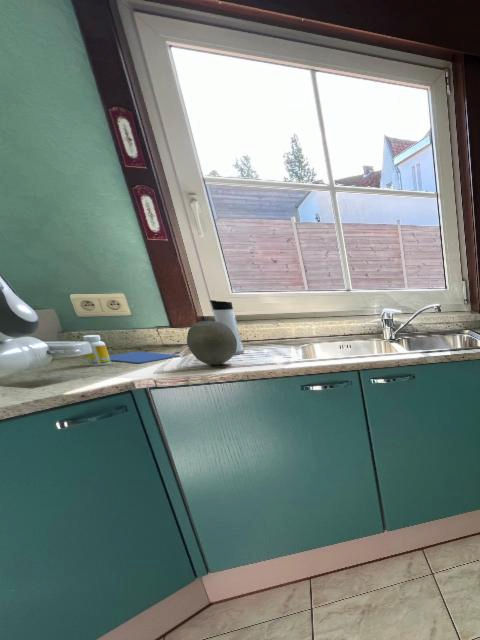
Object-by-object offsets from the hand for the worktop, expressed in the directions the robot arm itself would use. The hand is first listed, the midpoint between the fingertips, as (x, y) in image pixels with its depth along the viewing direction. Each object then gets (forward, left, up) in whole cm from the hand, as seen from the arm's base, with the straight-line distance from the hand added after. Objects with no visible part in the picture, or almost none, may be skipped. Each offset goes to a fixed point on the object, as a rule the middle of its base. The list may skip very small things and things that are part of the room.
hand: (64, 344), depth 153 cm
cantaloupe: (+30, +24, -9) cm, 39 cm away
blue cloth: (-5, +23, -9) cm, 25 cm away
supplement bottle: (-5, +11, -9) cm, 15 cm away
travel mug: (+17, +41, -9) cm, 45 cm away
